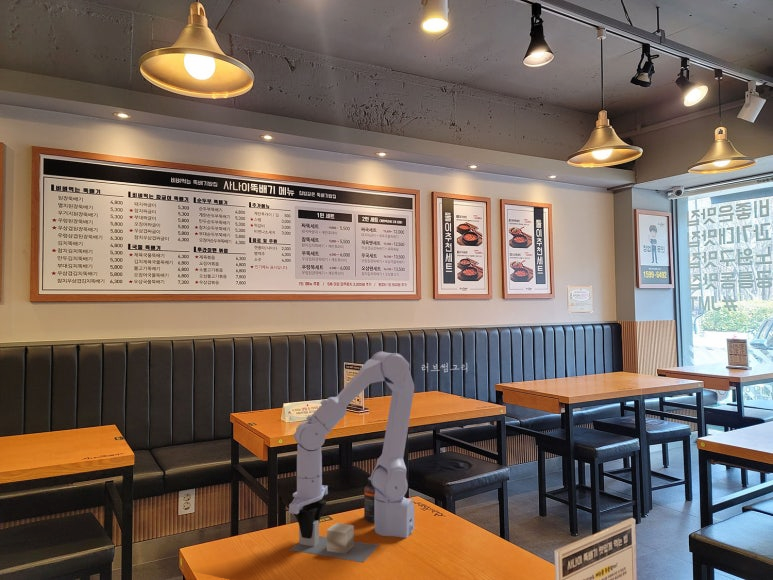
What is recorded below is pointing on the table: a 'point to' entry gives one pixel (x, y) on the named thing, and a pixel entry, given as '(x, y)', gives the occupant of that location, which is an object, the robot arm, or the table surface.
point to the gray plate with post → (320, 548)
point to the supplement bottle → (369, 502)
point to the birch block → (340, 538)
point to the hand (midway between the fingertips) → (309, 535)
